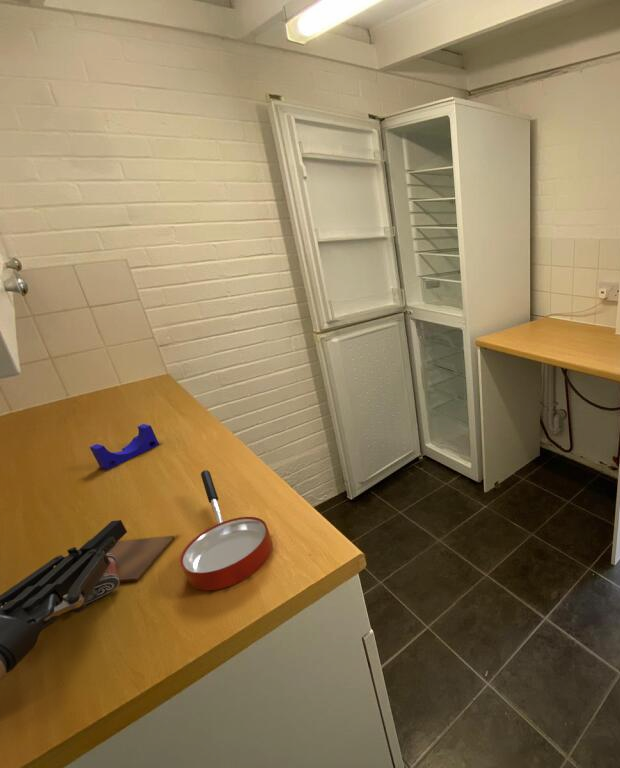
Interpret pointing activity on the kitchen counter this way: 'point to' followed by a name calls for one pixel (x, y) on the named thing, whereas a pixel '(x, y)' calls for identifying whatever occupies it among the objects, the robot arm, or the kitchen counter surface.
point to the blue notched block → (126, 448)
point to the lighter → (105, 581)
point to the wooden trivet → (137, 556)
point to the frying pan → (225, 548)
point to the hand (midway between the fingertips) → (119, 526)
